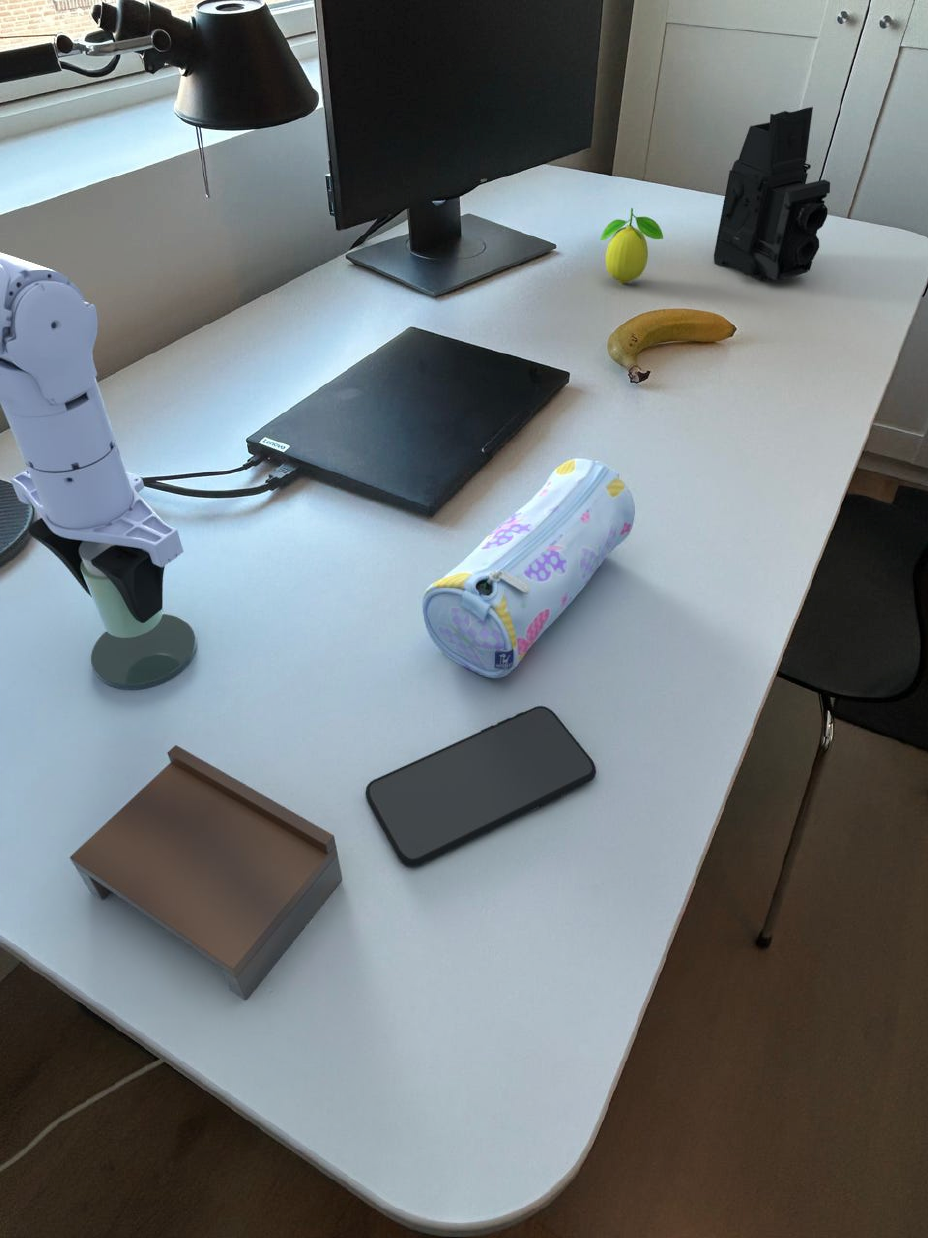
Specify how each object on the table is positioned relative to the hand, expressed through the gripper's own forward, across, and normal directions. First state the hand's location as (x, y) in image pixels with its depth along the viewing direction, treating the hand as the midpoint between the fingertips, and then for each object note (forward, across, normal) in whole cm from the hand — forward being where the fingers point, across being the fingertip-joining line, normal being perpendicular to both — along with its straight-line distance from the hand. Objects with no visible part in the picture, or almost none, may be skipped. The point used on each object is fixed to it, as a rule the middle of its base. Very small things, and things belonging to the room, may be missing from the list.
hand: (127, 602), depth 66 cm
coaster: (+5, 0, 0) cm, 5 cm away
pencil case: (+6, -24, -21) cm, 32 cm away
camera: (+6, -18, -99) cm, 100 cm away
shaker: (+2, 0, 0) cm, 2 cm away
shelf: (+5, -19, +12) cm, 23 cm away
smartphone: (+5, -30, -3) cm, 30 cm away
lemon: (+6, -3, -85) cm, 85 cm away
